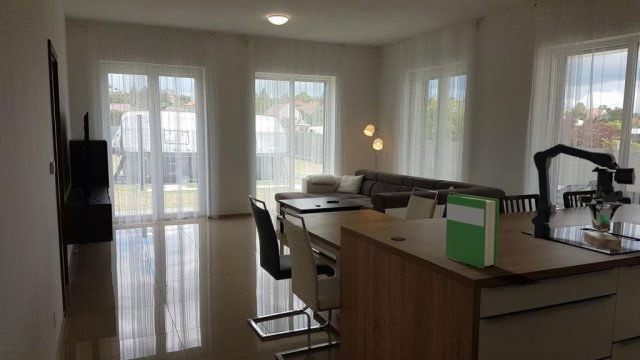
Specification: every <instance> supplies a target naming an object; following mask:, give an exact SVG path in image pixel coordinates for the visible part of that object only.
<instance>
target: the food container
mask: <svg viewBox="0 0 640 360" xmlns="http://www.w3.org/2000/svg"><path fill="white" fill-rule="evenodd" d="M596 204H597V203H596ZM611 213H612V209H611V208H610V205H608V204H601V203H600V204H597V206H596V220H594V218H593V216H592V213H591V212H590V215H591V216H590V217H591V218H590V219H591V224H592V225H591V226H592V228H593V229H594V230H596V232H600V233H608V232H610V231H611V220H610V219H611Z"/></svg>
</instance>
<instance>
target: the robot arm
mask: <svg viewBox="0 0 640 360" xmlns="http://www.w3.org/2000/svg"><path fill="white" fill-rule="evenodd" d="M560 154H563V155H567V156H571V157H573V158H574V157H575V158H578V159H583V160H586V161H588V162H590V163H592V164H594V165H596V166H595V167H594V168H593V169H592V170H591V172H592V173H596V174H597V176H596V184H595V189H596V190H595V194H594V196H592V195H589V194H579V195H578V196H577V197H576V198H577V202H579V203H581V204H585V205H587V206H588V208H589V210H590V214H591V213H592V216H593V218H594V220H596V206H597V203H596V202H603V203H608V204H609V206H610V208H611V209H612V213H611V219H610V221H612V220H613V217H614V215H615V214H616V211H618V209H619V208H620V207H623V206H624V205H632V199H631V197H630V196H629V197H628V196H625V195H624V192H623V191H622V190H616V191H615V189H614V188H615V186H613V185H614V182H616V184H618V185H627V186H628V185H630V186H631V185H632V186H634V185H635V183H636V172H635V168H634V167H629V168H628V167H621V166H620V165H619V164H618V163H617V161H616V157H615V155H614V154H612V153H610V152H595V151H589V150H586V149H582V148H577V147H574V146H571V145H566V144H564V143H557V144H555V145H553V146H552V147H549V148H547V149H544V150H542V151H541V150H540V151H537V152H535V153H534V154H533V161H534V162H533V163H534V166H535V168H536V170H537V175H538V191H539V193H538V195H539V196H538V197H539V203H538V207H537V211H536V215H535V216H534V217H533V218H532V219H531V224H532V233H531V236H532V237H533V238H536V239H537V238H540V239H550V238H551V227H550V222H551V221H552V220H553V219H555V217H556V214H557V211H556V210H557V209H556V207H557V206H556V204H553V203H552V201H551V188H550V186H551V185H550V168H551V164H552V159H553V158H555V157H557V156H559V155H560Z"/></svg>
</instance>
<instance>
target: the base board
mask: <svg viewBox="0 0 640 360" xmlns="http://www.w3.org/2000/svg"><path fill="white" fill-rule="evenodd" d="M583 242H584V243H586V242H587V243H586V244H588V245H589V244H590V246H591V247H593V248H594V247H595V248H594V249H596V250H610V251H611V250H612V251H613V250H614V251H621V249H622V240H621V239H620V238H618V237H616V236H614V235H611V234H610V233H608V232H605V233H600V232H598V231H595V232H594V231H584V233H583Z"/></svg>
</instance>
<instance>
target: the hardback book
mask: <svg viewBox="0 0 640 360" xmlns="http://www.w3.org/2000/svg"><path fill="white" fill-rule="evenodd" d="M446 196H447V197H446V232H445V234H446V235H445V257H446V256H447V257H450V258H453V259H456V260H459V261H462V262H465V263H468V264H471V265H474V266H478V267H481V268H484V269H485V267H490V266H491V265H494V266H497V267H498V254H499V253H498V252H499V222H500V221H499V220H500V199H499V198H491V197H484V196H483V197H482V196H478V195H470V194H449V195H446ZM494 266H493V267H494Z"/></svg>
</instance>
